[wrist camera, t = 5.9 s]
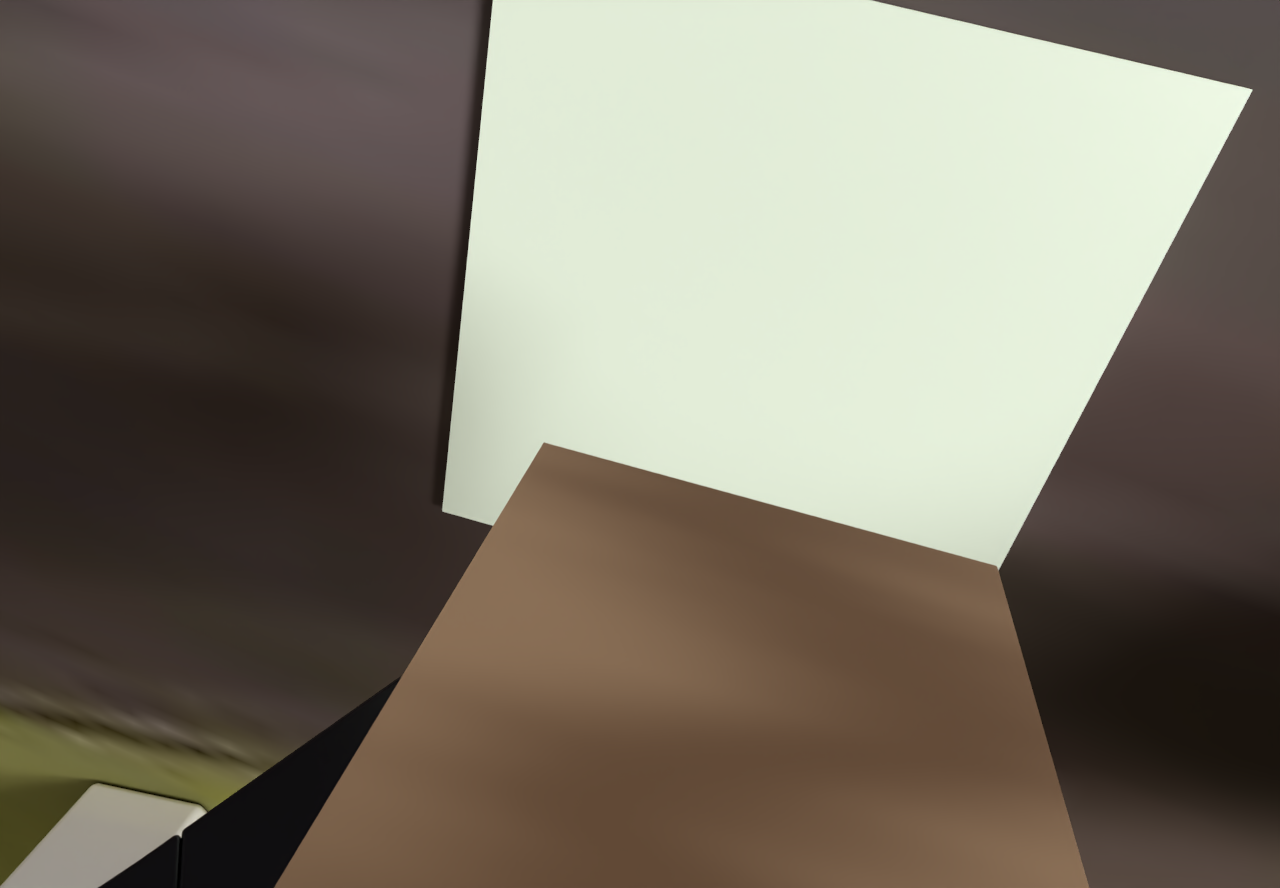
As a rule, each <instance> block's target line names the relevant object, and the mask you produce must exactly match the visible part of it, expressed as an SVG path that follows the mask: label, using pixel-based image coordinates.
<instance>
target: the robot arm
mask: <svg viewBox="0 0 1280 888" xmlns="http://www.w3.org/2000/svg"><path fill="white" fill-rule="evenodd" d="M402 676H403V675H402ZM402 676H401V677H402ZM401 677H399V678H398V679H396V680H395V681H393V682H392V683H391V684H389V685H388V686H386V687H385V688H383V689H382V690H381V691H379V692H378V693H376V694H375V695H374V696H372V697H371V698H369V699H368V700H366V701H365V702H364V703H362V704H361V705H359V706H358V707H356V708H355V709H354V710H352V711H351V712H349V713H348V714H347V715H345V716H344V717H342V718H341V719H339V720H338V721H337V722H335V723H334V724H332V725H331V726H330V727H328V728H327V729H325V730H324V731H322V732H321V733H320V734H318V735H317V736H315V737H314V738H312V739H311V740H310V741H308V742H307V743H305V744H304V745H303V746H301V747H300V748H298V749H297V750H295V751H294V752H293V753H291V754H290V755H288V756H287V757H285V758H284V759H283V760H281V761H280V762H278V763H277V764H276V765H274V766H273V767H271V768H270V769H268V770H267V771H266V772H264V773H263V774H261V775H260V776H258V777H257V778H256V779H254V780H253V781H251V782H250V783H249V784H247V785H246V786H244V787H243V788H241V789H240V790H239V791H237V792H236V793H234V794H233V795H231V796H230V797H229V798H227V799H226V800H224V801H223V802H222V803H220V804H219V805H217V806H216V807H214V808H213V809H212V810H210V811H209V812H207V813H206V814H204V815H203V816H202V817H200V818H199V819H197V820H196V821H195V822H193V823H192V824H190V825H189V826H187V827H186V828H185V829H184V830H183V831H182V836H181V837H180V836H179V835H174V836H172V837H171V838H170V839H168V840H167V841H165V842H164V843H163V844H161V845H160V846H158V847H157V848H156V849H154V850H153V851H151V852H150V853H148V854H147V855H146V856H144V857H143V858H141V859H140V860H138V861H137V862H136V863H134V864H133V865H131V866H130V867H128V868H127V869H125V870H124V871H122V872H121V873H119V874H118V875H116V876H115V877H113V878H112V879H110V880H109V881H107V882H106V883H104V884H103V885H101V886H100V887H98V888H274V887H275V885H276V884H277V882H278V880H279V879H280V877H281V876H282V874H283V872H284V871H285V869H286V867H287V866H288V864H289V862H290V861H291V859H292V857H293V856H294V854H295V852H296V851H297V849H298V847H299V846H300V844H301V842H302V841H303V839H304V838H305V836H306V834H307V833H308V831H309V829H310V828H311V826H312V824H313V823H314V821H315V819H316V818H317V816H318V814H319V813H320V811H321V809H322V808H323V806H324V804H325V803H326V801H327V800H328V798H329V796H330V795H331V793H332V791H333V790H334V788H335V786H336V785H337V783H338V781H339V780H340V778H341V776H342V775H343V773H344V771H345V770H346V768H347V766H348V765H349V763H350V762H351V760H352V758H353V757H354V755H355V753H356V752H357V750H358V748H359V747H360V745H361V743H362V742H363V740H364V738H365V737H366V735H367V733H368V732H369V730H370V728H371V727H372V725H373V724H374V722H375V720H376V719H377V717H378V715H379V714H380V712H381V710H382V709H383V707H384V705H385V704H386V702H387V700H388V699H389V697H390V695H391V694H392V692H393V690H394V689H395V687H396V686H397V684H398V682H399V681H400V679H401Z"/></svg>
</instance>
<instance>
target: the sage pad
mask: <svg viewBox="0 0 1280 888" xmlns="http://www.w3.org/2000/svg"><path fill="white" fill-rule="evenodd" d="M1251 92H1252V89H1248V88H1244V87H1240V86H1236V85H1232V84H1228V83H1223V82H1219V81H1215V80H1210V79H1206V78H1202V77H1198V76H1193V75H1189V74H1185V73H1180V72H1176V71H1172V70H1168V69H1163V68H1159V67H1155V66H1151V65H1146V64H1142V63H1138V62H1133V61H1129V60H1125V59H1121V58H1116V57H1112V56H1108V55H1103V54H1099V53H1095V52H1091V51H1086V50H1082V49H1078V48H1073V47H1069V46H1065V45H1061V44H1056V43H1052V42H1048V41H1044V40H1039V39H1035V38H1031V37H1026V36H1022V35H1018V34H1014V33H1009V32H1005V31H1001V30H996V29H992V28H988V27H984V26H979V25H975V24H971V23H967V22H962V21H958V20H954V19H949V18H945V17H941V16H937V15H932V14H928V13H924V12H919V11H915V10H911V9H907V8H902V7H898V6H894V5H890V4H885V3H881V2H877V1H872V0H493V4H492V14H491V25H490V35H489V45H488V55H487V65H486V75H485V85H484V95H483V105H482V115H481V125H480V135H479V145H478V155H477V165H476V176H475V186H474V196H473V206H472V216H471V226H470V236H469V246H468V256H467V266H466V276H465V286H464V296H463V306H462V317H461V327H460V337H459V347H458V357H457V367H456V377H455V387H454V397H453V407H452V417H451V427H450V437H449V447H448V458H447V468H446V478H445V488H444V498H443V508H442V511H443V512H446V513H450V514H453V515H457V516H460V517H464V518H467V519H471V520H475V521H478V522H482V523H485V524H489V525H492V526H493V525H494V524H495V522H496V520H497V519H498V517H499V515H500V514H501V512H502V510H503V509H504V507H505V505H506V504H507V502H508V501H509V499H510V497H511V496H512V494H513V492H514V491H515V489H516V487H517V486H518V484H519V482H520V481H521V479H522V477H523V476H524V474H525V472H526V471H527V469H528V467H529V466H530V464H531V463H532V461H533V459H534V458H535V456H536V454H537V453H538V451H539V449H540V448H541V446H542V444H543V443H548V444H552V445H555V446H559V447H563V448H566V449H570V450H574V451H577V452H581V453H585V454H588V455H592V456H596V457H599V458H603V459H607V460H610V461H614V462H618V463H621V464H625V465H629V466H632V467H636V468H640V469H643V470H647V471H651V472H654V473H658V474H662V475H665V476H669V477H673V478H676V479H680V480H684V481H687V482H691V483H695V484H698V485H702V486H706V487H709V488H713V489H717V490H720V491H724V492H728V493H731V494H735V495H739V496H742V497H746V498H750V499H753V500H757V501H761V502H764V503H768V504H772V505H775V506H779V507H783V508H786V509H790V510H794V511H797V512H801V513H805V514H808V515H812V516H816V517H819V518H823V519H827V520H830V521H834V522H838V523H841V524H845V525H849V526H852V527H856V528H860V529H863V530H867V531H871V532H874V533H878V534H882V535H885V536H889V537H893V538H896V539H900V540H904V541H907V542H911V543H915V544H918V545H922V546H926V547H929V548H933V549H937V550H940V551H944V552H948V553H951V554H955V555H959V556H962V557H966V558H970V559H973V560H977V561H980V562H984V563H988V564H991V565H995V566H997V568H998V570H999V568H1000V567H1001V565H1002V563H1003V561H1004V559H1005V557H1006V555H1007V553H1008V551H1009V550H1010V548H1011V546H1012V544H1013V542H1014V540H1015V538H1016V536H1017V534H1018V533H1019V531H1020V529H1021V527H1022V525H1023V523H1024V521H1025V519H1026V517H1027V516H1028V514H1029V512H1030V510H1031V508H1032V506H1033V504H1034V502H1035V500H1036V498H1037V497H1038V495H1039V493H1040V491H1041V489H1042V487H1043V485H1044V483H1045V481H1046V480H1047V478H1048V476H1049V474H1050V472H1051V470H1052V468H1053V466H1054V464H1055V463H1056V461H1057V459H1058V457H1059V455H1060V453H1061V451H1062V449H1063V447H1064V446H1065V444H1066V442H1067V440H1068V438H1069V436H1070V434H1071V432H1072V430H1073V429H1074V427H1075V425H1076V423H1077V421H1078V419H1079V417H1080V415H1081V413H1082V411H1083V410H1084V408H1085V406H1086V404H1087V402H1088V400H1089V398H1090V396H1091V394H1092V393H1093V391H1094V389H1095V387H1096V385H1097V383H1098V381H1099V379H1100V377H1101V376H1102V374H1103V372H1104V370H1105V368H1106V366H1107V364H1108V362H1109V360H1110V359H1111V357H1112V355H1113V353H1114V351H1115V349H1116V347H1117V345H1118V343H1119V342H1120V340H1121V338H1122V336H1123V334H1124V332H1125V330H1126V328H1127V326H1128V324H1129V323H1130V321H1131V319H1132V317H1133V315H1134V313H1135V311H1136V309H1137V307H1138V306H1139V304H1140V302H1141V300H1142V298H1143V296H1144V294H1145V292H1146V290H1147V289H1148V287H1149V285H1150V283H1151V281H1152V279H1153V277H1154V275H1155V273H1156V272H1157V270H1158V268H1159V266H1160V264H1161V262H1162V260H1163V258H1164V256H1165V255H1166V253H1167V251H1168V249H1169V247H1170V245H1171V243H1172V241H1173V239H1174V237H1175V236H1176V234H1177V232H1178V230H1179V228H1180V226H1181V224H1182V222H1183V220H1184V219H1185V217H1186V215H1187V213H1188V211H1189V209H1190V207H1191V205H1192V203H1193V202H1194V200H1195V198H1196V196H1197V194H1198V192H1199V190H1200V188H1201V186H1202V185H1203V183H1204V181H1205V179H1206V177H1207V175H1208V173H1209V171H1210V169H1211V167H1212V166H1213V164H1214V162H1215V160H1216V158H1217V156H1218V154H1219V152H1220V150H1221V149H1222V147H1223V145H1224V143H1225V141H1226V139H1227V137H1228V135H1229V133H1230V132H1231V130H1232V128H1233V126H1234V124H1235V122H1236V120H1237V118H1238V116H1239V115H1240V113H1241V111H1242V109H1243V107H1244V105H1245V103H1246V101H1247V99H1248V98H1249V96H1250V94H1251Z"/></svg>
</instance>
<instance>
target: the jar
mask: <svg viewBox="0 0 1280 888" xmlns="http://www.w3.org/2000/svg"><path fill="white" fill-rule="evenodd" d="M206 813H207V811H206V810H205V809H204V808H203V807H202V806H200V805H198V804H194V803H189V802H184V801H179V800H174V799H170V798H165V797H160V796H156V795H151V794H146V793H142V792H137V791H132V790H128V789H123V788H119V787H114V786H109V785H105V784H100V783H97V784H94V785H92V786H90V787H89V788H88V790H87V791H86V792H85V793H84V794H83V795H82V796H81V797H80V798H79V800H78V801H77V802H76V803H75V804H74V805H73V806H72V807H71V808H70V809H69V811H68V812H67V813H66V814H65V815H64V816H63V817H62V818H61V819H60V821H59V822H58V823H57V824H56V825H55V826H54V827H53V828H52V829H51V830H50V832H49V833H48V834H47V835H46V836H45V837H44V838H43V839H42V840H41V842H40V843H39V844H38V845H37V846H36V847H35V848H34V849H33V850H32V852H31V853H30V854H29V855H28V856H27V857H26V858H25V859H24V860H23V861H22V863H21V864H20V865H19V866H18V867H17V868H16V869H15V870H14V871H13V873H12V874H11V875H10V876H9V877H8V878H7V879H6V880H5V881H4V882H3V884H2V885H1V886H0V888H98V887H100V886H101V885H103V884H104V883H106V882H107V881H109V880H110V879H112V878H113V877H115V876H116V875H118V874H119V873H121V872H122V871H124V870H125V869H127V868H128V867H130V866H131V865H133V864H134V863H136V862H137V861H138V860H140V859H141V858H143V857H144V856H146V855H147V854H148V853H150V852H151V851H153V850H154V849H156V848H157V847H158V846H160V845H161V844H163V843H164V842H165V841H167V840H168V839H170V838H171V837H172V836H174V835H179V836H180V837H181V836H182V831H183V830H184V829H185V828H186V827H187V826H189V825H190V824H192V823H193V822H195V821H196V820H197V819H199V818H200V817H202V816H203V815H204V814H206Z"/></svg>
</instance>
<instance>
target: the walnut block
mask: <svg viewBox="0 0 1280 888" xmlns="http://www.w3.org/2000/svg"><path fill="white" fill-rule="evenodd" d="M274 888H1089V886H1088V882H1087V879H1086V875H1085V872H1084V868H1083V865H1082V861H1081V858H1080V854H1079V851H1078V847H1077V844H1076V840H1075V837H1074V833H1073V830H1072V826H1071V823H1070V819H1069V816H1068V812H1067V809H1066V805H1065V802H1064V799H1063V795H1062V792H1061V788H1060V785H1059V781H1058V778H1057V774H1056V771H1055V767H1054V764H1053V760H1052V757H1051V753H1050V750H1049V746H1048V743H1047V739H1046V736H1045V732H1044V729H1043V725H1042V722H1041V718H1040V715H1039V711H1038V708H1037V704H1036V701H1035V697H1034V694H1033V690H1032V687H1031V683H1030V680H1029V676H1028V673H1027V669H1026V666H1025V662H1024V659H1023V655H1022V652H1021V648H1020V645H1019V641H1018V638H1017V634H1016V631H1015V627H1014V624H1013V620H1012V617H1011V613H1010V610H1009V606H1008V603H1007V599H1006V596H1005V592H1004V589H1003V585H1002V582H1001V578H1000V575H999V571H998V568H997V566H995V565H991V564H988V563H984V562H980V561H977V560H973V559H970V558H966V557H962V556H959V555H955V554H951V553H948V552H944V551H940V550H937V549H933V548H929V547H926V546H922V545H918V544H915V543H911V542H907V541H904V540H900V539H896V538H893V537H889V536H885V535H882V534H878V533H874V532H871V531H867V530H863V529H860V528H856V527H852V526H849V525H845V524H841V523H838V522H834V521H830V520H827V519H823V518H819V517H816V516H812V515H808V514H805V513H801V512H797V511H794V510H790V509H786V508H783V507H779V506H775V505H772V504H768V503H764V502H761V501H757V500H753V499H750V498H746V497H742V496H739V495H735V494H731V493H728V492H724V491H720V490H717V489H713V488H709V487H706V486H702V485H698V484H695V483H691V482H687V481H684V480H680V479H676V478H673V477H669V476H665V475H662V474H658V473H654V472H651V471H647V470H643V469H640V468H636V467H632V466H629V465H625V464H621V463H618V462H614V461H610V460H607V459H603V458H599V457H596V456H592V455H588V454H585V453H581V452H577V451H574V450H570V449H566V448H563V447H559V446H555V445H552V444H548V443H543V444H542V446H541V448H540V449H539V451H538V453H537V454H536V456H535V458H534V459H533V461H532V463H531V464H530V466H529V467H528V469H527V471H526V472H525V474H524V476H523V477H522V479H521V481H520V482H519V484H518V486H517V487H516V489H515V491H514V492H513V494H512V496H511V497H510V499H509V501H508V502H507V504H506V505H505V507H504V509H503V510H502V512H501V514H500V515H499V517H498V519H497V520H496V522H495V524H494V525H493V527H492V529H491V530H490V532H489V534H488V535H487V537H486V539H485V540H484V542H483V543H482V545H481V547H480V548H479V550H478V552H477V553H476V555H475V557H474V558H473V560H472V562H471V563H470V565H469V567H468V568H467V570H466V572H465V573H464V575H463V577H462V578H461V580H460V581H459V583H458V585H457V586H456V588H455V590H454V591H453V593H452V595H451V596H450V598H449V600H448V601H447V603H446V605H445V606H444V608H443V610H442V611H441V613H440V614H439V616H438V618H437V619H436V621H435V623H434V624H433V626H432V628H431V629H430V631H429V633H428V634H427V636H426V638H425V639H424V641H423V643H422V644H421V646H420V648H419V649H418V651H417V652H416V654H415V656H414V657H413V659H412V661H411V662H410V664H409V666H408V667H407V669H406V671H405V672H404V674H403V676H402V677H401V679H400V681H399V682H398V684H397V686H396V687H395V689H394V690H393V692H392V694H391V695H390V697H389V699H388V700H387V702H386V704H385V705H384V707H383V709H382V710H381V712H380V714H379V715H378V717H377V719H376V720H375V722H374V724H373V725H372V727H371V728H370V730H369V732H368V733H367V735H366V737H365V738H364V740H363V742H362V743H361V745H360V747H359V748H358V750H357V752H356V753H355V755H354V757H353V758H352V760H351V762H350V763H349V765H348V766H347V768H346V770H345V771H344V773H343V775H342V776H341V778H340V780H339V781H338V783H337V785H336V786H335V788H334V790H333V791H332V793H331V795H330V796H329V798H328V800H327V801H326V803H325V804H324V806H323V808H322V809H321V811H320V813H319V814H318V816H317V818H316V819H315V821H314V823H313V824H312V826H311V828H310V829H309V831H308V833H307V834H306V836H305V838H304V839H303V841H302V842H301V844H300V846H299V847H298V849H297V851H296V852H295V854H294V856H293V857H292V859H291V861H290V862H289V864H288V866H287V867H286V869H285V871H284V872H283V874H282V876H281V877H280V879H279V880H278V882H277V884H276V885H275V887H274Z"/></svg>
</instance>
